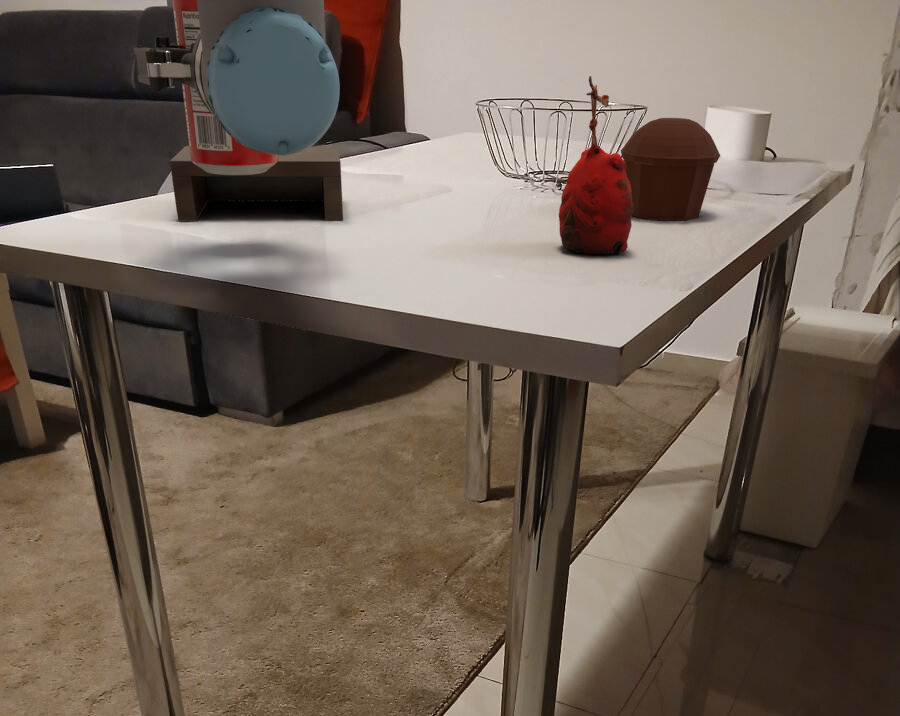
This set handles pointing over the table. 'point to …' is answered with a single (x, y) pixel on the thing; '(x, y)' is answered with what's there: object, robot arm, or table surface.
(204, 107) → the soda can
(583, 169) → the red clay folk toy
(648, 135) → the muffin
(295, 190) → the stand
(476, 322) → the table surface
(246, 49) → the robot arm
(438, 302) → the table surface
